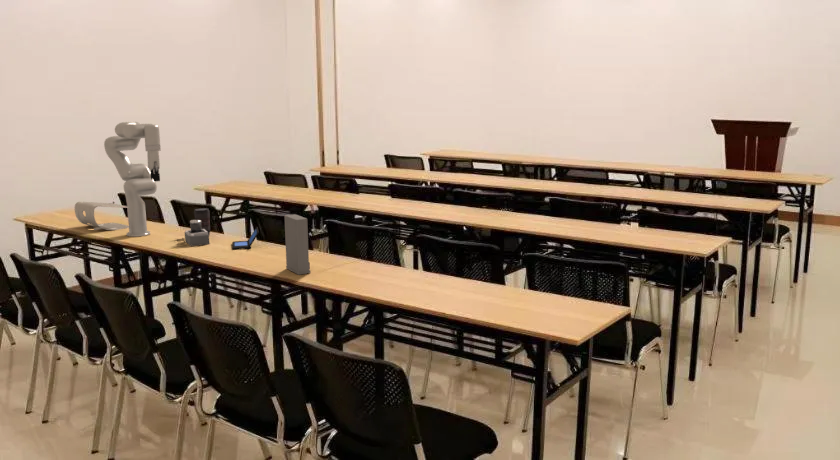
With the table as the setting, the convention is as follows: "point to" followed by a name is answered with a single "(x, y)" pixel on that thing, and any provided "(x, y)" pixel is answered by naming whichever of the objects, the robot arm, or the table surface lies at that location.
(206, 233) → the camera body block
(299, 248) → the tall grey upright pillar
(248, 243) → the game console
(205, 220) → the camera lens
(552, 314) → the table surface
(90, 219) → the portable electronic device stand
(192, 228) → the ringed metal cylinder
